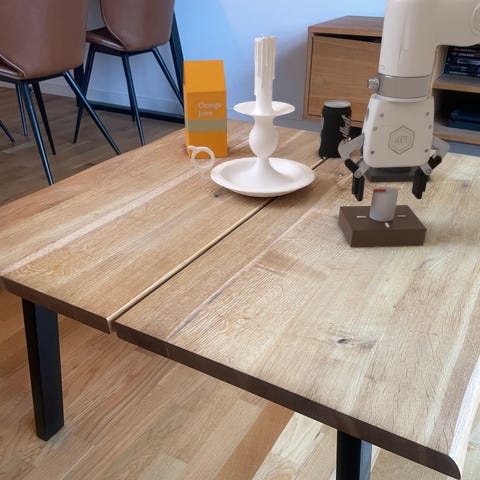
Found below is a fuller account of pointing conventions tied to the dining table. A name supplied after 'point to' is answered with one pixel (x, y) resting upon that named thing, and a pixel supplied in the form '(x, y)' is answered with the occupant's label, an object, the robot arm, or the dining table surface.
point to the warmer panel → (381, 228)
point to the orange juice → (205, 107)
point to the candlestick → (260, 140)
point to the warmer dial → (383, 203)
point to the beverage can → (334, 127)
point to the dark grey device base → (391, 174)
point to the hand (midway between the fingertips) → (387, 197)
